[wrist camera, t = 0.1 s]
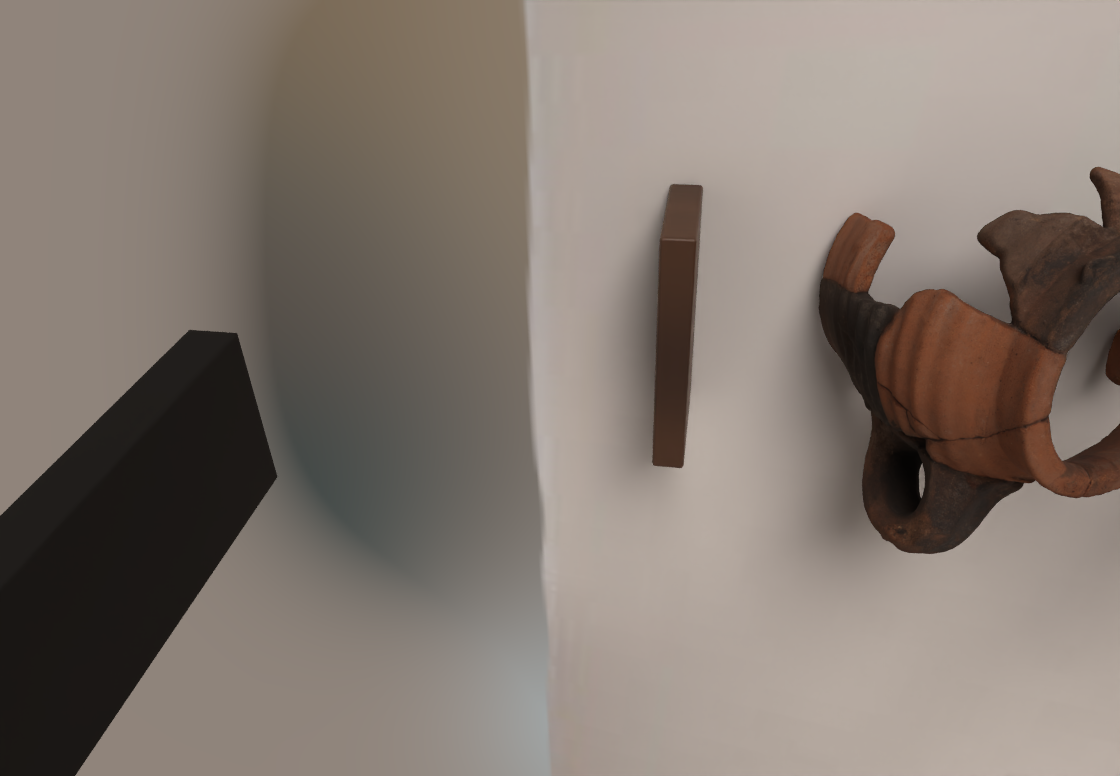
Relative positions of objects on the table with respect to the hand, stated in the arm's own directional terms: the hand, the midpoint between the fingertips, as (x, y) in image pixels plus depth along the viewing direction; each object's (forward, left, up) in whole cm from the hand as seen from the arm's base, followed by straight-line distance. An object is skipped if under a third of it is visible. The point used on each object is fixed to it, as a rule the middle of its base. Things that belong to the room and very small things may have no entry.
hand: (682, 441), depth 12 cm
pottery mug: (+7, +8, -16) cm, 19 cm away
